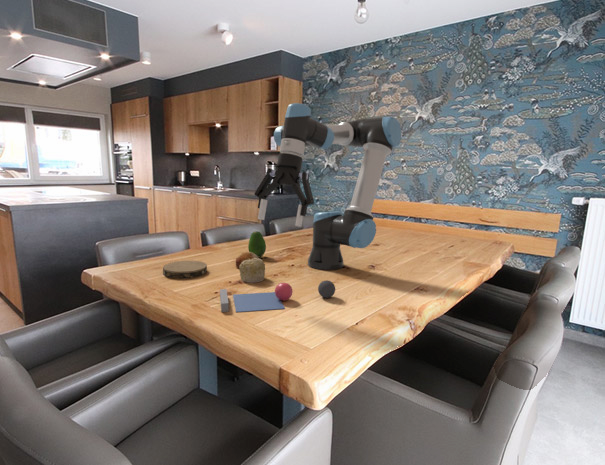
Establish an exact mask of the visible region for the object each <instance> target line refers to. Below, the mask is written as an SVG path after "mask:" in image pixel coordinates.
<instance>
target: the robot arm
mask: <svg viewBox="0 0 605 465" xmlns="http://www.w3.org/2000/svg"><path fill="white" fill-rule="evenodd" d="M311 113H312V109H311V108H310V106H308V105H306V104H304V103H300V102H297V103H296V102H294V103H289V104H288V106H287V108H286V112H285V116H284V122H283V125H280V126H278V127H275V130H274V132H273V139H274V143H275V144H276V145H277V146H278V147H279V154H278V156H277V162H276V165H277V167H276V169H272V168H270V167H269V168H267V170H266V174H265V176H264V177H263V179H262V181H261V182H260V184H259V185H258V186H257V188H256V190H255V192H254V196H255V197H257V198H258V203H257V209H258V215H257V220H262V221H265V218H266V217H265V216H266V211H267V206H268V200H267V198H268V197H269V196H270V195H271V194H272V193H273V192H274V191H275V190H276V189H277V188H278V187H279V186H281V185H282V186H289V187H292V188H293V191H294V192H295V194H296V196H297V199H299V201H300V204H299V203H298V207H297V212H296V218H295V223H294V226H295V227H299V228H302V223H303V219H304V217H306V215H307V211H308V206H311V205H314V204H315V201H314V195H313V192H312V188H311V184H310V174H309V173H308V172H306V171H303V172H301V169H302V164H303V160H304V159H303V157H304V154H305V148H306V147H315V148H317V149H320V150H327V149H329V148H330V147H331V146H332V145H340V146H343V147H346V146H349V147H356V148H357V147H358V148H363V150H364V154H363V158H362V162H361V165H360V170H359V173H358V176H357V181H356V183H355V187H354V189H353V194H352V198H351V202H350V205H349V207H347V208H345V209H344V211H343V214H342V211H338V210H337V211H322V212H316V213H315V214H314V215H313V221H312V247H311V250H310V253H309V256H308V259H307V265H308V266H309V267H310V268H312V269H317V270H326V271H328V270H329V271H331V270H332V271H333V270H340V269H342V268H343V267H344V257H343V255H342V251H341V245H342V246H347V247H351V248H354V249H355V248H357V249H365V248H367V247H368V246H370V244H372V242H373V241H374V239H375V237H376V233H377V224H376V222H375V221H374V216H373V214H372V209H373V207H374V202H375V199H376V196H377V191H378V188H379V184H380V180H381V176H382V173H383V170H384V166H385V162H386V158H387V157H388V156H389V155H391V154H392V150H393V149H394V148H396V147H398V146H399V145H400V144H401V141H402V128H401V123H400V122H399V120H398V118H396V117H394V116H383V117H382V116H381V117H379V116H378V117H371V118H361V119H354V120H351V121H343V122H340V123H339V124H324V123H321V122H320V121H317V120H316V119H314V118H312V117H311V116H312V114H311ZM274 177H275V178H274ZM299 179H301V182H302V186H303V190H304V192H303V190H302V188H301V187H300V183H299V181H298V180H299ZM304 193H305V194H304Z"/></svg>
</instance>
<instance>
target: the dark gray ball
mask: <svg viewBox="0 0 605 465" xmlns="http://www.w3.org/2000/svg"><path fill="white" fill-rule="evenodd" d="M317 291H318V294H319V295H320V296H321V297H322V298H325V299H328V298H331V297H333V296H334V295H335V292H336V286H335V283H334V282H332V281H331V280H322V281H321V282H320V283H319V284H318V287H317Z"/></svg>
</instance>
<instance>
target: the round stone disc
mask: <svg viewBox="0 0 605 465" xmlns="http://www.w3.org/2000/svg"><path fill="white" fill-rule="evenodd" d="M207 267H208V264H207V263H206V262H204V261H201V260H200V261H199V260H179V261H177V260H176V261H172V262H169V263H165V264H164V265H163V266H162V274H163V276H164V277H166V278H169V279H173V280H174V279H176V280H177V279H178V280H181V279H182V280H183V279H184V280H187V279H195V278H199V277H202V276H203V275H205V274H207V273H208V268H207Z"/></svg>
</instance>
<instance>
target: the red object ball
mask: <svg viewBox="0 0 605 465" xmlns="http://www.w3.org/2000/svg"><path fill="white" fill-rule="evenodd" d="M293 291H294V290H293V288H292V286H291V285H290V284H289V283H287V282H281V283H278V284H277V285H276V287H274V292H275V295H276V297H277V298H278V299H279V300H281V302H282V301H283V302H284V301H285V302H286V301H288V300H289V299H291V298H292V296H293Z"/></svg>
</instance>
